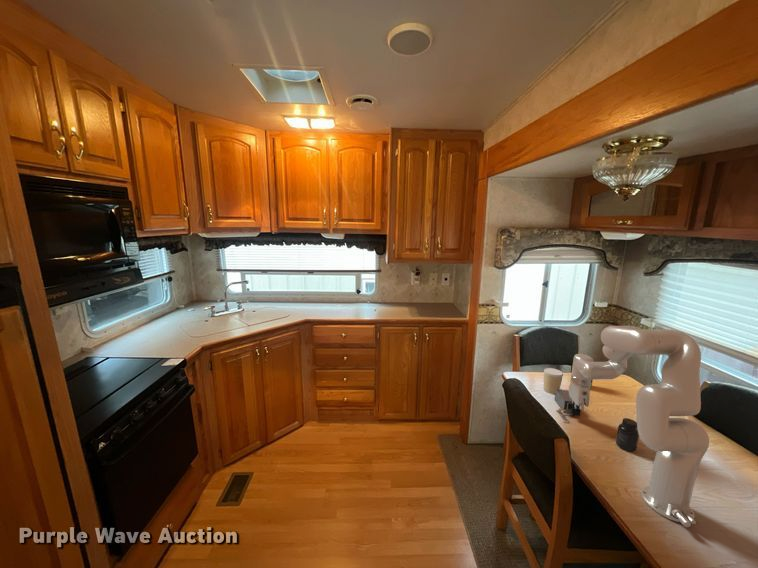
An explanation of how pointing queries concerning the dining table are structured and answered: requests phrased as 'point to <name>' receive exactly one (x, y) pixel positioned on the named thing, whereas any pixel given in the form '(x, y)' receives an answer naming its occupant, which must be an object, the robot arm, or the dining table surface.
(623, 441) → the supplement bottle
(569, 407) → the plunger
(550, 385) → the coffee cup
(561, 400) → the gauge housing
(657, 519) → the dining table surface
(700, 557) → the dining table surface
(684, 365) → the robot arm
